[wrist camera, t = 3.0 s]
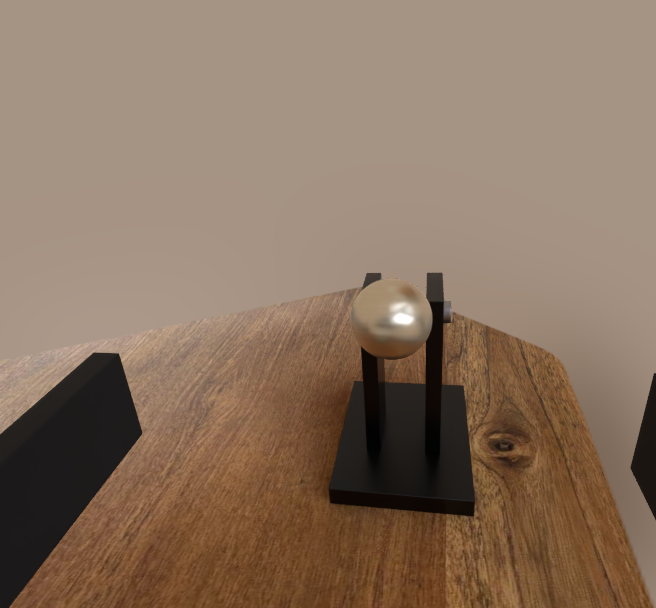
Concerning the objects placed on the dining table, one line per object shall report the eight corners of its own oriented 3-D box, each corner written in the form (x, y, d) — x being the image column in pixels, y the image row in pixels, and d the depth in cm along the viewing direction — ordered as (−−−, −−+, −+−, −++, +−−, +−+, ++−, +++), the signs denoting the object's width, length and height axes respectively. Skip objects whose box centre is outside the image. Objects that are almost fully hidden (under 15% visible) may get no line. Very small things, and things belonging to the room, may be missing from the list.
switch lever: (432, 366, 20) (433, 277, 20) (344, 363, 21) (344, 277, 21) (430, 338, 33) (431, 284, 33) (376, 337, 34) (376, 284, 34)
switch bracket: (473, 516, 30) (486, 334, 25) (330, 503, 32) (312, 331, 27) (462, 398, 41) (469, 252, 35) (355, 393, 43) (345, 253, 37)
